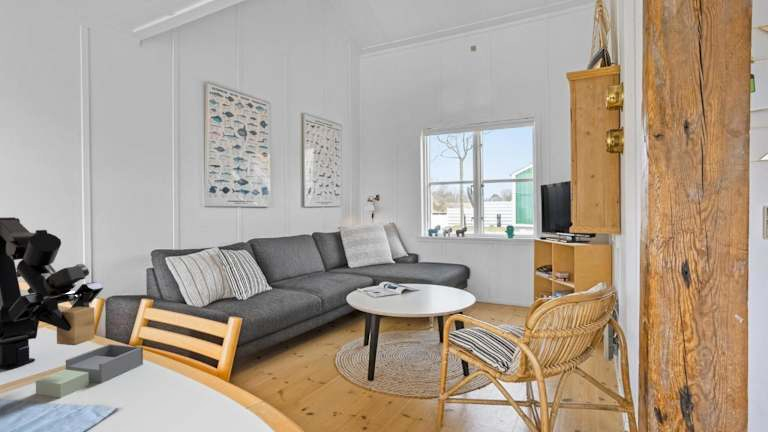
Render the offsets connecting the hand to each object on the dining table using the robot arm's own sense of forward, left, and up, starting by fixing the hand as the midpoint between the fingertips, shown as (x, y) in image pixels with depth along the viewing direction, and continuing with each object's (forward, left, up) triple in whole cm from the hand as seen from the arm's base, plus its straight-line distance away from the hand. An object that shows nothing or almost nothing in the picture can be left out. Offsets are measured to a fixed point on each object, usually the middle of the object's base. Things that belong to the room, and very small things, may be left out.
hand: (80, 326), depth 95 cm
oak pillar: (-1, 0, -4) cm, 4 cm away
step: (-2, -3, -14) cm, 14 cm away
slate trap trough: (-2, +8, -14) cm, 16 cm away
